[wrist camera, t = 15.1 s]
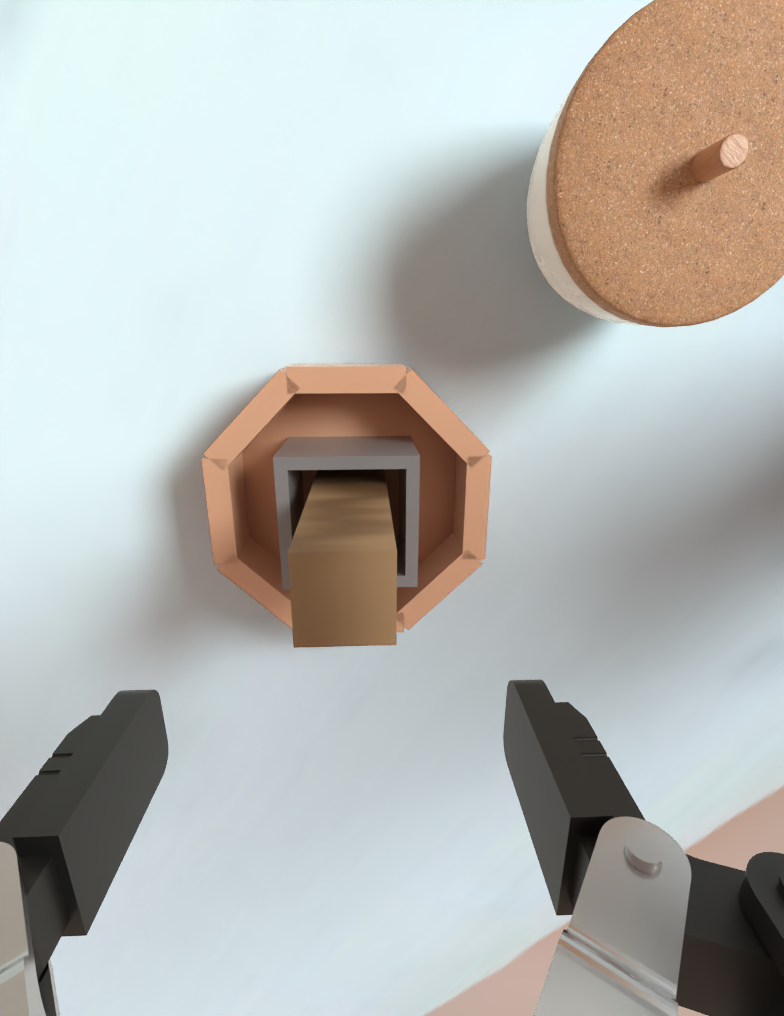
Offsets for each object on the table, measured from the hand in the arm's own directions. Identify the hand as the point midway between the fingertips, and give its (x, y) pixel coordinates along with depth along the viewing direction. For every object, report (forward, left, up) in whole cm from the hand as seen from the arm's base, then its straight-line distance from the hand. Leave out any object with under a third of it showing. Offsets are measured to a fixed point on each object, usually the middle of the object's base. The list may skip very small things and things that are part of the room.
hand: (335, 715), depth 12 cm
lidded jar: (-13, -14, -19) cm, 27 cm away
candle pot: (0, 0, -18) cm, 18 cm away
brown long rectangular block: (0, 0, -17) cm, 17 cm away
